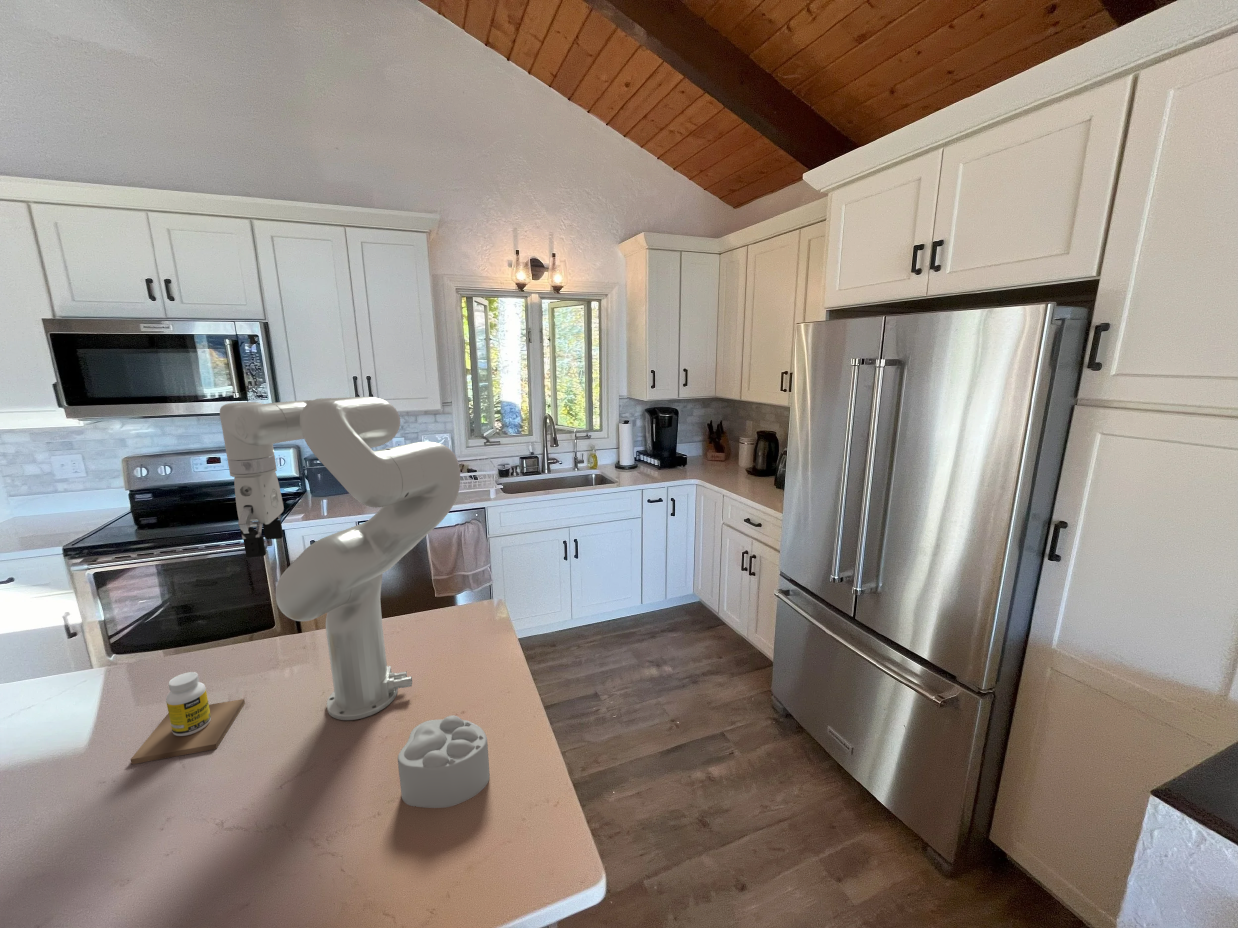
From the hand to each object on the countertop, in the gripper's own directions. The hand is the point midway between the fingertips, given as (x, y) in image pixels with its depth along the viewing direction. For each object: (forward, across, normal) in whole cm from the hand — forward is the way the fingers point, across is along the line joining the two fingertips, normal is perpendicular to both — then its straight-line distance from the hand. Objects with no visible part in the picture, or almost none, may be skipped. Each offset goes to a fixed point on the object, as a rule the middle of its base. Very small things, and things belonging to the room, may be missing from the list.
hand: (265, 547), depth 103 cm
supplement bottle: (+28, -16, +10) cm, 33 cm away
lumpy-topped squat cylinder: (+29, -40, -35) cm, 60 cm away
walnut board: (+28, -16, +10) cm, 34 cm away
